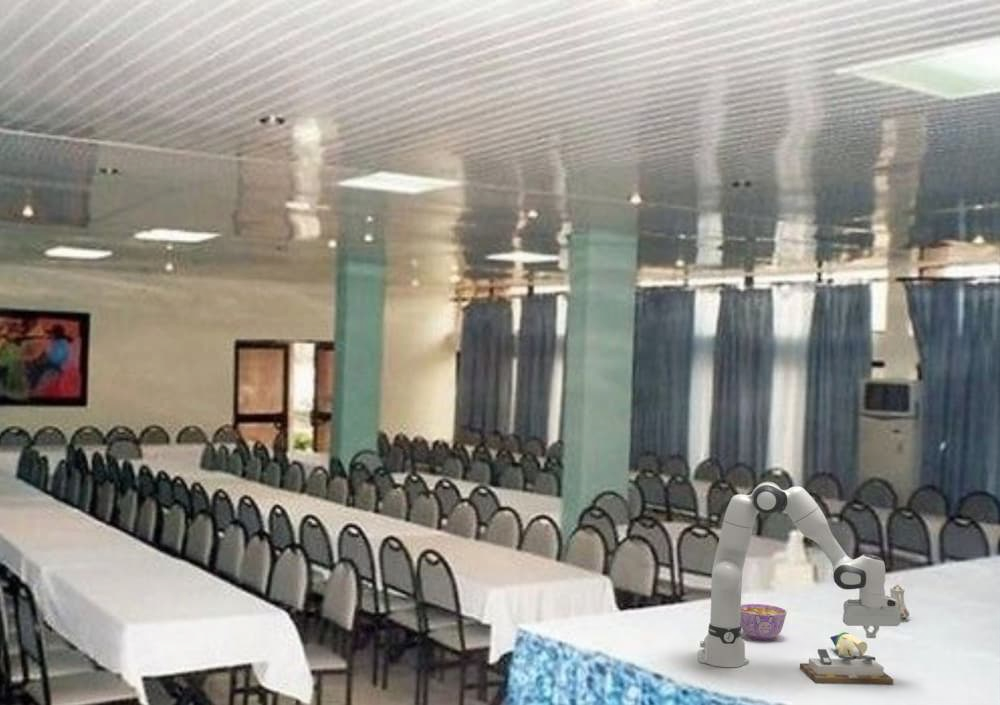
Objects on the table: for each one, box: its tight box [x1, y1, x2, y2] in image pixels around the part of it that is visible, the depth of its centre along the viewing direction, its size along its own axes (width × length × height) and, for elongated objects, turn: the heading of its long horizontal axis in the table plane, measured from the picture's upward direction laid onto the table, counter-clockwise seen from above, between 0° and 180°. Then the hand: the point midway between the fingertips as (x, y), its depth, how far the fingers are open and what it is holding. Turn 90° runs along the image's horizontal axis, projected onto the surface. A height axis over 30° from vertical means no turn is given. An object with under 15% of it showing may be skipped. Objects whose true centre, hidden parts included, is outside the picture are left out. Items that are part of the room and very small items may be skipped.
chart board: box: [799, 662, 894, 686], centre depth 407 cm, size 18×28×2 cm, turn 93°
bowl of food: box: [740, 603, 787, 641], centre depth 459 cm, size 20×20×12 cm
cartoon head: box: [830, 631, 868, 657], centre depth 436 cm, size 9×10×20 cm
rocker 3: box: [859, 654, 876, 661], centre depth 407 cm, size 7×3×1 cm, turn 3°
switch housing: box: [808, 657, 884, 676], centre depth 407 cm, size 10×24×4 cm, turn 93°
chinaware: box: [889, 583, 910, 623], centre depth 499 cm, size 28×17×17 cm, turn 170°
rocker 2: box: [838, 654, 855, 660], centre depth 407 cm, size 7×3×1 cm, turn 3°
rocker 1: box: [817, 648, 832, 665], centre depth 406 cm, size 7×3×1 cm, turn 3°
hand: (870, 637), depth 405 cm, fingers closed
